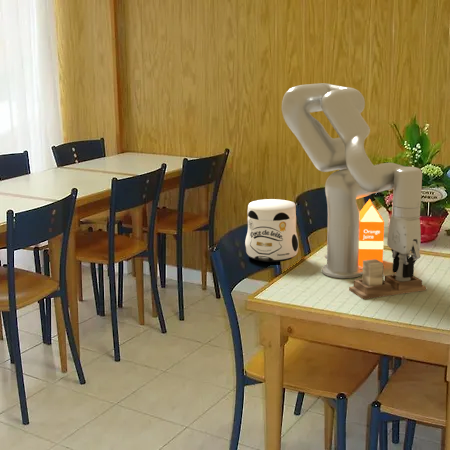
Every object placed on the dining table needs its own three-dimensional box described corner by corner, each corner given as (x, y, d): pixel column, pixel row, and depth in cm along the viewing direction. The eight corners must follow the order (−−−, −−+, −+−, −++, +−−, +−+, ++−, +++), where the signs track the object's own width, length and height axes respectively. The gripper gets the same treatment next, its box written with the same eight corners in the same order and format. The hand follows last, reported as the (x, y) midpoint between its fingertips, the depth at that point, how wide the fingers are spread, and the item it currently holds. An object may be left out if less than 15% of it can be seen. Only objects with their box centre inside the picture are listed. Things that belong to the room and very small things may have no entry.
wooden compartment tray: (349, 290, 204) (349, 259, 202) (409, 281, 211) (411, 252, 209) (363, 299, 197) (364, 267, 195) (426, 290, 204) (427, 259, 201)
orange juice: (379, 259, 232) (382, 198, 227) (382, 267, 224) (385, 204, 219) (355, 259, 233) (356, 198, 228) (357, 267, 225) (359, 204, 220)
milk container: (254, 268, 226) (254, 212, 221) (238, 253, 242) (238, 200, 237) (306, 263, 230) (307, 207, 225) (287, 248, 246) (287, 196, 242)
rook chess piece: (408, 277, 207) (409, 250, 205) (412, 282, 203) (414, 255, 201) (392, 277, 207) (394, 250, 205) (396, 282, 203) (398, 255, 201)
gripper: (378, 206, 207) (375, 267, 211) (411, 219, 191) (408, 285, 196) (401, 204, 209) (398, 264, 214) (435, 217, 194) (431, 282, 198)
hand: (402, 273), depth 205 cm, fingers closed on rook chess piece, 4 cm apart
